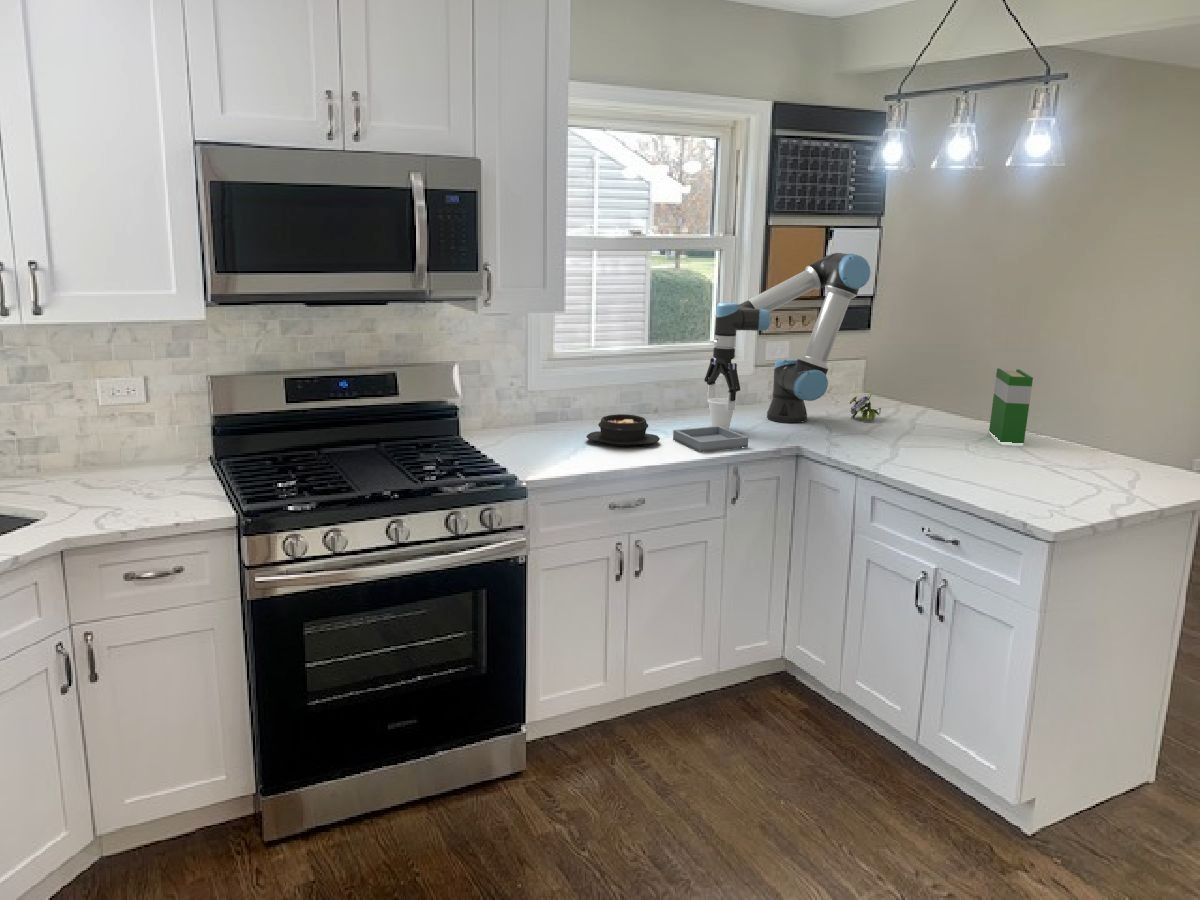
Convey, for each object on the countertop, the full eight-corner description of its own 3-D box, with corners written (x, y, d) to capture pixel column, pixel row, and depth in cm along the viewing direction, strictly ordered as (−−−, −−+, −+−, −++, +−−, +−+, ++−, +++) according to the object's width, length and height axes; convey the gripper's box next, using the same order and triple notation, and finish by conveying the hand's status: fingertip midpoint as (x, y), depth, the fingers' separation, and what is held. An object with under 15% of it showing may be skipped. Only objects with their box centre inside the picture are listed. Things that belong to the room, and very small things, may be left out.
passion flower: (852, 432, 348) (845, 404, 353) (880, 427, 347) (873, 399, 352) (855, 421, 338) (848, 392, 342) (884, 416, 337) (877, 388, 341)
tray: (718, 435, 317) (719, 425, 316) (747, 447, 300) (748, 437, 299) (673, 439, 309) (673, 430, 308) (700, 452, 293) (700, 442, 292)
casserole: (581, 447, 298) (581, 422, 296) (592, 434, 316) (592, 411, 314) (655, 451, 293) (656, 426, 291) (662, 438, 311) (663, 415, 309)
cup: (733, 427, 329) (735, 398, 326) (734, 433, 319) (736, 403, 316) (706, 426, 330) (707, 397, 327) (706, 432, 320) (708, 402, 317)
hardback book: (988, 433, 325) (997, 368, 319) (1010, 435, 324) (1019, 369, 318) (1000, 445, 308) (1009, 376, 302) (1023, 446, 307) (1033, 377, 301)
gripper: (697, 342, 326) (693, 400, 332) (734, 352, 304) (730, 413, 310) (715, 342, 329) (711, 399, 335) (753, 351, 307) (748, 412, 313)
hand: (720, 406), depth 322 cm, fingers open, 13 cm apart
